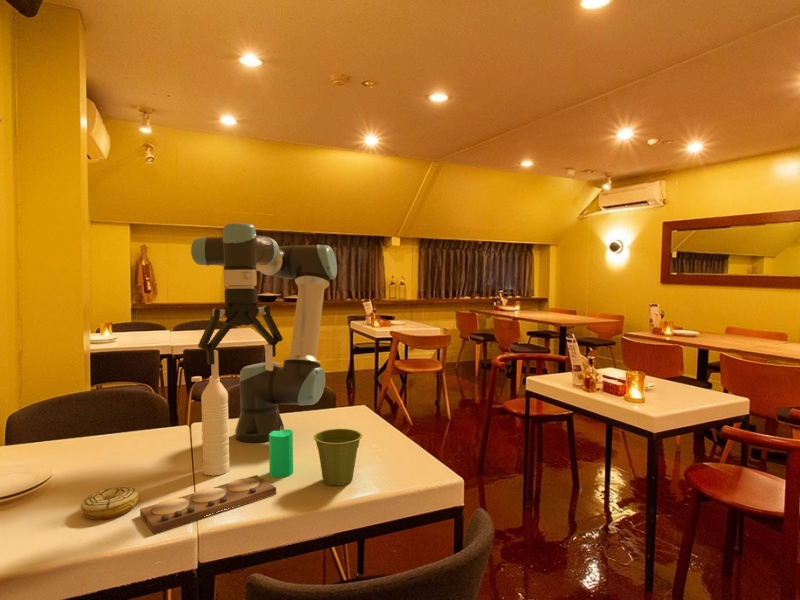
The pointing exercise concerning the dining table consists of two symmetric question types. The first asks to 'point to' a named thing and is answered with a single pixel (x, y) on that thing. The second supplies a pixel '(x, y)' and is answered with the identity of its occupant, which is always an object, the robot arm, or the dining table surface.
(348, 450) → the plant pot
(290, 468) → the candle
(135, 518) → the dining table surface
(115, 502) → the decorated donut
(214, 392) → the water bottle
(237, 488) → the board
